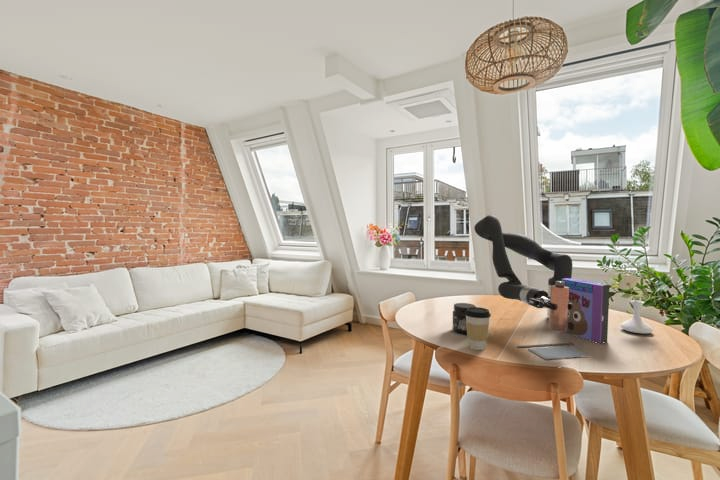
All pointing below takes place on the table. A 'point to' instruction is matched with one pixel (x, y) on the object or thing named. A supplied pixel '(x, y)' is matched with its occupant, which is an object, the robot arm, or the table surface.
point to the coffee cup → (477, 327)
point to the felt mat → (557, 352)
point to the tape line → (544, 345)
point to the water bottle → (559, 307)
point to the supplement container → (460, 317)
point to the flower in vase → (635, 322)
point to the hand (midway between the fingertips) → (563, 307)
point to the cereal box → (588, 310)
